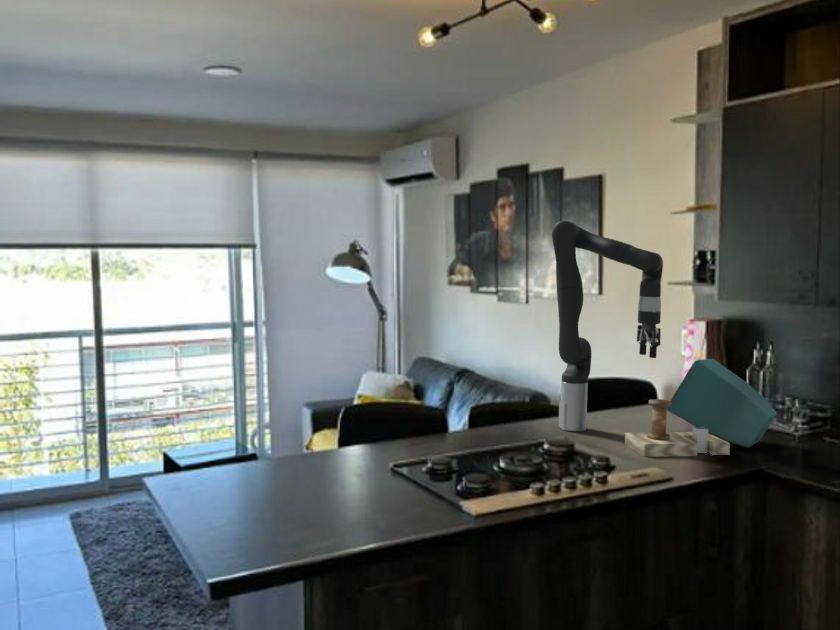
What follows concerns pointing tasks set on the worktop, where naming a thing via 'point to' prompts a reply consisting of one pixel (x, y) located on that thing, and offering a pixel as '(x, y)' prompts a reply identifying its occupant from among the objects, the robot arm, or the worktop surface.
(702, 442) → the tab peg
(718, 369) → the flower pot
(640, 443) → the notched board
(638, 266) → the robot arm
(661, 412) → the bobbin
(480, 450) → the worktop surface
